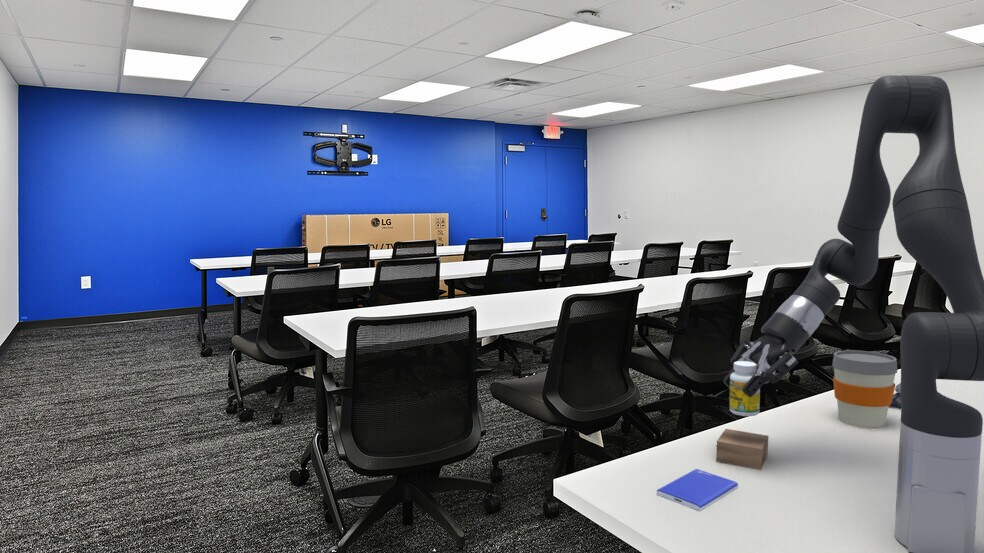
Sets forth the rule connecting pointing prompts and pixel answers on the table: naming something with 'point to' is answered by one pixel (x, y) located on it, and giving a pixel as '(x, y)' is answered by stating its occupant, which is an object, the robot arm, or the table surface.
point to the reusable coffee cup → (864, 386)
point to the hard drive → (697, 489)
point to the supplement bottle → (738, 398)
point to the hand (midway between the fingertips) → (736, 389)
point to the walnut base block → (742, 448)
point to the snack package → (897, 396)
